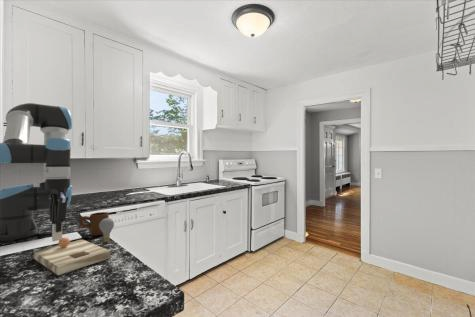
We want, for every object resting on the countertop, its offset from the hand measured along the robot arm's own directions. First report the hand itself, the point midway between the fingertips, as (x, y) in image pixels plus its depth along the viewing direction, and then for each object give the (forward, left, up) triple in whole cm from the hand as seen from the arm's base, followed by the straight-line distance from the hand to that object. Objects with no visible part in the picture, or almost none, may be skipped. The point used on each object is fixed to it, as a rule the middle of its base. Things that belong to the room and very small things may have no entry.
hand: (57, 240), depth 87 cm
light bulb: (+6, +15, -4) cm, 17 cm away
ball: (+6, 0, 0) cm, 7 cm away
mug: (-10, +17, -4) cm, 20 cm away
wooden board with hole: (+13, 0, -4) cm, 14 cm away
